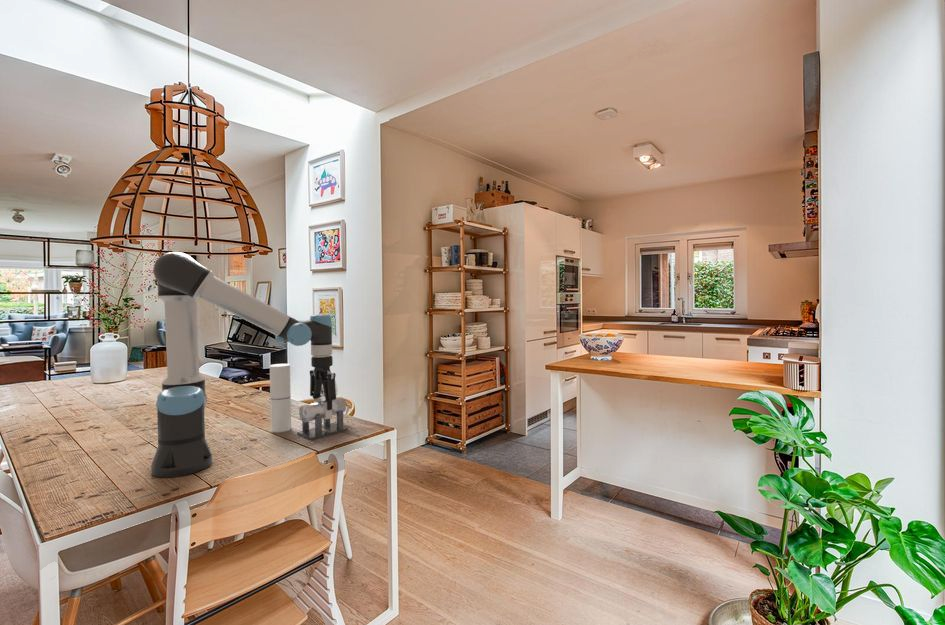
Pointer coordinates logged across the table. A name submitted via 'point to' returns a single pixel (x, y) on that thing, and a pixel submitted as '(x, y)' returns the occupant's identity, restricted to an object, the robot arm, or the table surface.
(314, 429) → the rail
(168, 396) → the robot arm
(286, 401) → the cylindrical container
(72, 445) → the table surface
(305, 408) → the tube
